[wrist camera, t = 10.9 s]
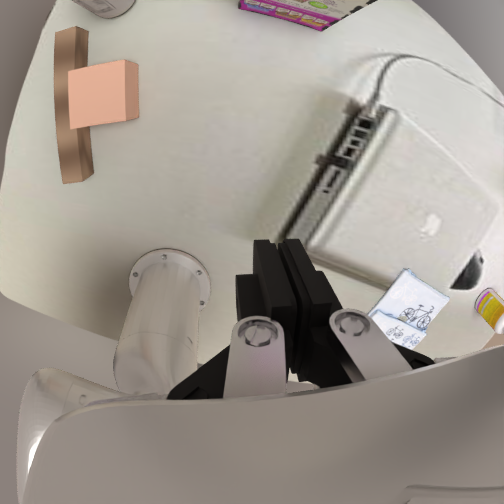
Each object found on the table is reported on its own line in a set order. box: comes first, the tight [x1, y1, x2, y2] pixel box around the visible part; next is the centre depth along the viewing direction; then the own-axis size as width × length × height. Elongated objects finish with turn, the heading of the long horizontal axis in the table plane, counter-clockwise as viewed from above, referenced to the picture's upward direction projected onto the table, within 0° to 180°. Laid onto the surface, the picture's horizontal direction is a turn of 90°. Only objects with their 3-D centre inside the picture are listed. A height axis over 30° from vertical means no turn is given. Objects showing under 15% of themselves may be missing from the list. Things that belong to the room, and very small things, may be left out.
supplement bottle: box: [475, 289, 504, 334], centre depth 52 cm, size 7×7×13 cm
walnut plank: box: [54, 26, 94, 184], centre depth 30 cm, size 20×3×4 cm, turn 179°
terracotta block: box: [68, 60, 139, 129], centre depth 29 cm, size 7×7×6 cm
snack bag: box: [367, 268, 450, 350], centre depth 55 cm, size 19×20×2 cm
